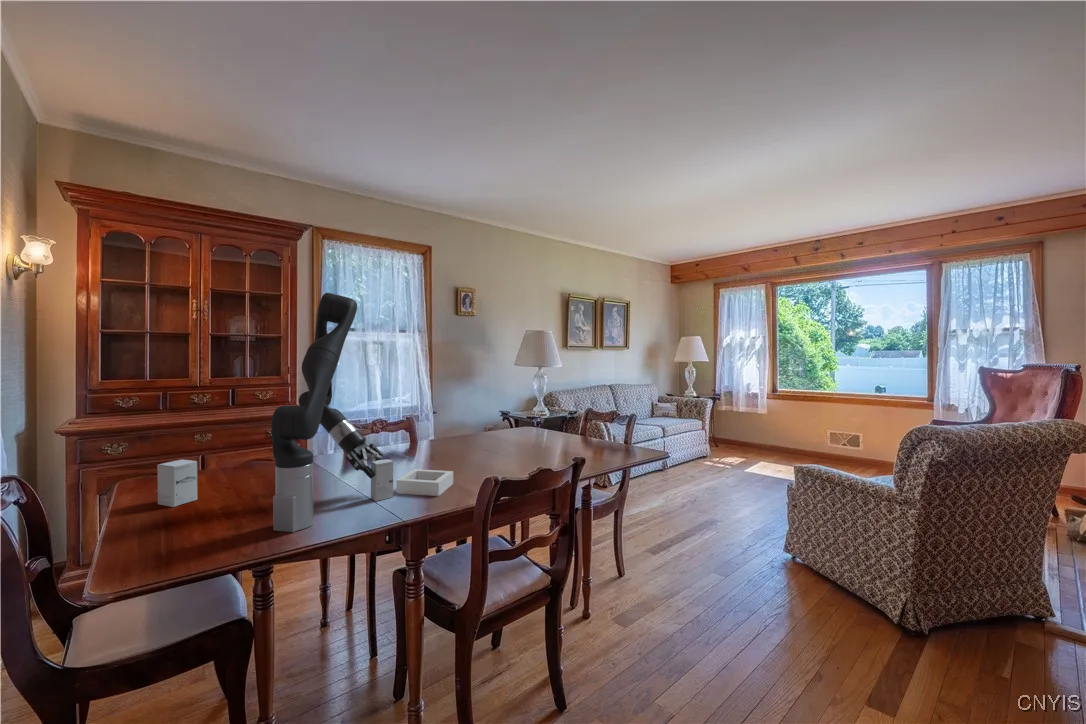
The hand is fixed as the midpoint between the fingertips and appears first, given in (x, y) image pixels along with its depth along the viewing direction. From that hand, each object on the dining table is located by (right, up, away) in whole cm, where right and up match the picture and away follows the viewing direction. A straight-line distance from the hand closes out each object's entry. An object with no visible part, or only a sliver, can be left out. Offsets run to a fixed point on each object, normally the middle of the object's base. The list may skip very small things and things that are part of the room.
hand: (380, 472), depth 153 cm
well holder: (+12, -8, +10) cm, 18 cm away
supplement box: (-61, -8, -6) cm, 62 cm away
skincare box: (+1, -8, 0) cm, 8 cm away
